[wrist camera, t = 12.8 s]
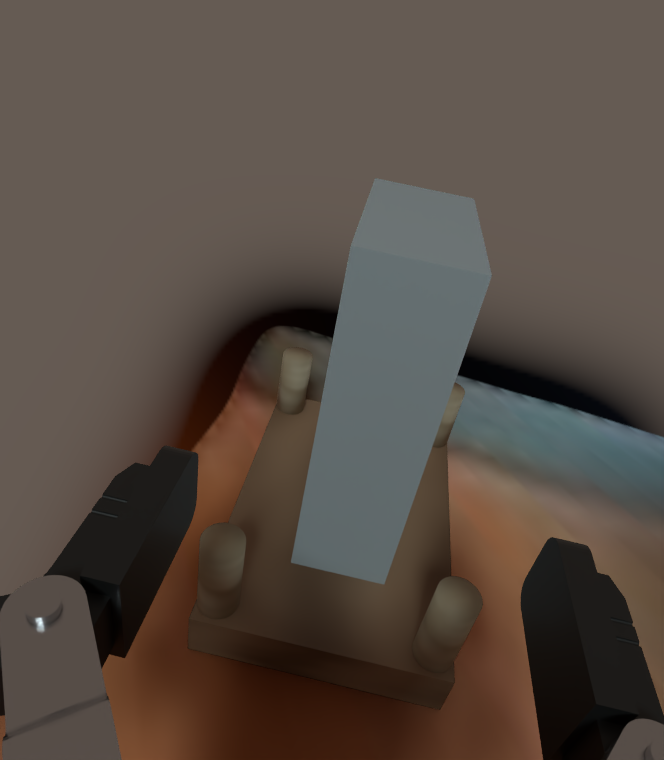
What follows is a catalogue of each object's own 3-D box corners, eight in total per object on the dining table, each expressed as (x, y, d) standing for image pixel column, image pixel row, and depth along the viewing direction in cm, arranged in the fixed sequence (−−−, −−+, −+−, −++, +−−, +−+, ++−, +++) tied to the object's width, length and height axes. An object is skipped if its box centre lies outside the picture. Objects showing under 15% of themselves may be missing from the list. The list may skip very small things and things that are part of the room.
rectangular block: (394, 459, 30) (473, 198, 22) (384, 584, 23) (491, 275, 16) (322, 442, 30) (375, 178, 22) (290, 562, 23) (350, 245, 16)
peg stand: (437, 455, 34) (463, 381, 31) (439, 709, 21) (484, 627, 18) (277, 419, 34) (287, 342, 31) (187, 648, 22) (190, 558, 19)
